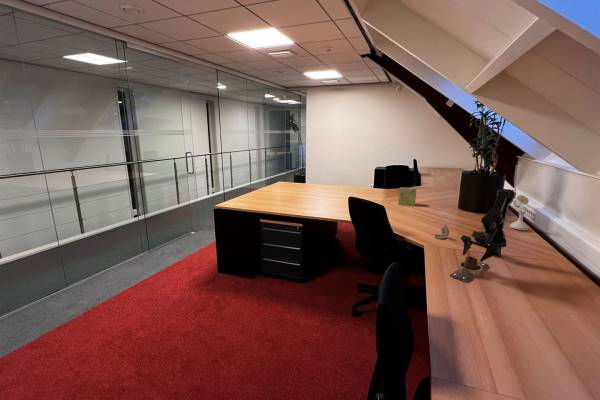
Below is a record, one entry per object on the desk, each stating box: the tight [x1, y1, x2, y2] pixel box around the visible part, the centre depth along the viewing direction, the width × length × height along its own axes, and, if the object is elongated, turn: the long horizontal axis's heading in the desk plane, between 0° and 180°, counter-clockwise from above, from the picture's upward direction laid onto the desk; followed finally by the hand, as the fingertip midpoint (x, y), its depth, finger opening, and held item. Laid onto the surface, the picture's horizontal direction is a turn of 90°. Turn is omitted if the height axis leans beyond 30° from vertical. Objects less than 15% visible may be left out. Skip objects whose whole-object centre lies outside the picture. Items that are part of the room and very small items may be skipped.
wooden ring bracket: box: [449, 260, 490, 283], centre depth 154 cm, size 27×11×3 cm, turn 129°
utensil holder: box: [464, 251, 478, 270], centre depth 154 cm, size 6×6×12 cm
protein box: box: [397, 187, 417, 207], centre depth 290 cm, size 10×15×16 cm
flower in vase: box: [509, 194, 530, 231], centre depth 216 cm, size 13×11×25 cm
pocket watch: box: [434, 223, 450, 240], centre depth 201 cm, size 8×8×10 cm
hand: (471, 258), depth 153 cm, fingers open, 9 cm apart
